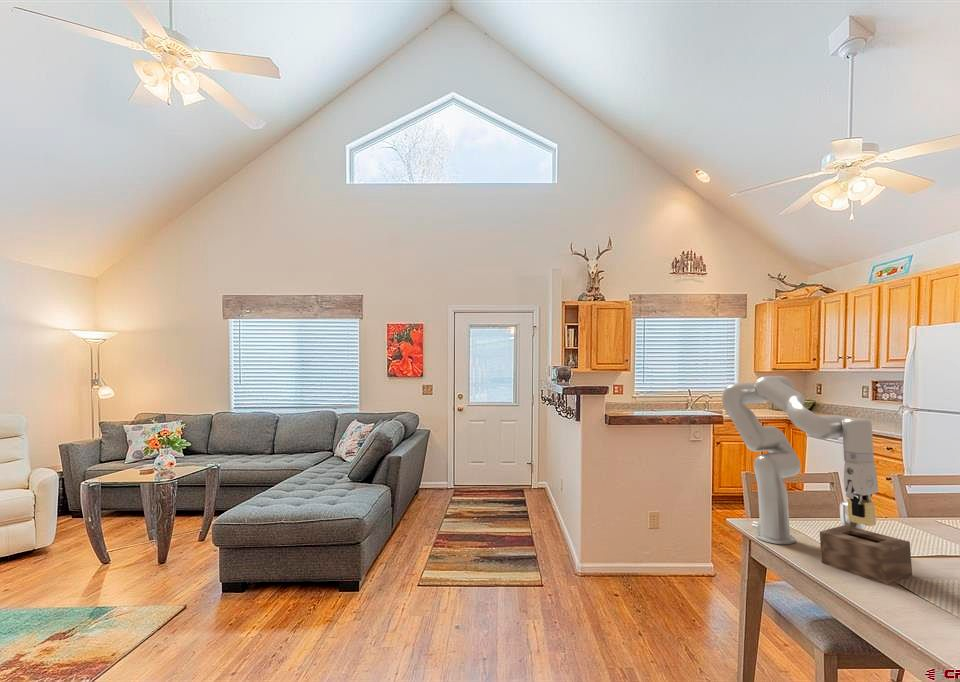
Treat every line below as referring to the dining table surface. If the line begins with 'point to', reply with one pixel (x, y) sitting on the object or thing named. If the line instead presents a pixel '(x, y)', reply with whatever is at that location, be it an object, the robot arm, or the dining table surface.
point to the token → (868, 513)
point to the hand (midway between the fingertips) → (861, 515)
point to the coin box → (866, 553)
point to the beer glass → (845, 517)
